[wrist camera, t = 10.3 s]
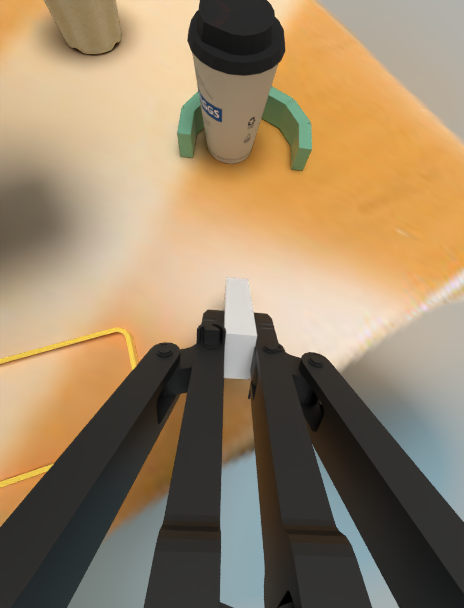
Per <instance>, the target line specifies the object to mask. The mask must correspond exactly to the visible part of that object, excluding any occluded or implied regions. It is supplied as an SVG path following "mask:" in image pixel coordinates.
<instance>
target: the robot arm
mask: <svg viewBox="0 0 464 608" xmlns="http://www.w3.org/2000/svg"><path fill="white" fill-rule="evenodd" d="M250 374H251V384H250V390H249V395H248V399H250V397H251V407H252V419H253V430H254V442H255V454H256V465H257V478H258V490H259V502H260V514H261V526H262V537H263V549H264V562H265V578H264V604H265V608H372V606H371V603H370V600H369V597H368V593H367V591H366V587H365V584H364V581H363V578H362V574H361V571H360V568H359V565H358V562H357V559H356V556H355V553H354V551H353V548H352V546H351V544H350V542H349V540H348V539H347V537H346V536H345V535H343V534H342V533H341V532H340V531H339V530H338V529H337V527H336V525H335V521H334V518H333V515H332V512H331V508H330V505H329V501H328V498H327V494H326V491H325V487H324V484H323V480H322V477H321V474H320V470H319V467H318V464H317V460H316V456H315V453H314V449H313V446H314V448H315V450H316V452H317V454H318V456H319V457H320V459H321V461H322V463H323V465H324V467H325V469H326V470H327V472H328V474H329V476H330V478H331V480H332V482H333V484H334V486H335V488H336V489H337V491H338V493H339V495H340V497H341V499H342V501H343V503H344V504H345V506H346V508H347V510H348V512H349V514H350V516H351V518H352V519H353V521H354V523H355V525H356V527H357V529H358V531H359V533H360V535H361V536H362V538H363V540H364V542H365V544H366V546H367V547H368V550H369V551H370V553H371V555H372V557H373V559H374V561H375V563H376V565H377V566H378V568H379V570H380V572H381V574H382V576H383V577H384V579H385V581H386V583H387V585H388V587H389V589H390V591H391V593H392V595H393V596H394V598H395V600H396V602H397V604H398V606H399V608H464V522H463V521H462V520H461V519H460V517H459V516H458V515H457V514H456V513H455V511H454V510H453V509H452V508H451V507H450V505H449V504H448V503H447V502H446V501H445V499H444V498H443V497H442V496H441V495H440V493H439V492H438V491H437V490H436V489H435V487H434V486H433V485H432V484H431V483H430V482H429V480H428V479H427V478H426V477H425V476H424V474H423V473H422V472H421V471H420V469H419V468H418V467H417V466H416V465H415V463H414V462H413V461H412V460H411V459H410V457H409V456H408V455H407V454H406V453H405V451H404V450H403V449H402V448H401V447H400V445H399V444H398V443H397V442H396V440H395V439H394V438H393V437H392V436H391V434H390V433H389V432H388V431H387V430H386V429H385V427H384V426H383V425H382V424H381V423H380V421H379V420H378V419H377V418H376V416H375V415H374V414H373V413H372V412H371V411H370V409H369V408H368V407H367V406H366V405H365V403H364V402H363V401H362V400H361V398H360V397H359V396H358V395H357V394H356V393H355V391H354V390H353V389H352V388H351V387H350V385H349V384H348V383H347V382H346V381H345V379H344V378H343V377H342V376H341V374H340V373H339V372H338V371H337V370H336V368H335V367H334V366H333V365H332V364H331V362H330V361H329V360H328V359H327V358H326V357H324V356H322V355H320V354H318V353H314V352H308V353H305V354H303V355H302V358H299V357H295V356H292V355H289V354H287V353H286V352H285V350H284V348H283V346H282V345H280V344H279V343H278V340H277V336H276V333H275V329H274V325H273V321H272V318H271V317H270V316H269V315H268V314H263V313H253V306H252V300H251V293H250V287H249V281H248V279H242V278H230V277H226V287H225V298H224V309H223V311H218V310H207V311H206V312H205V313H204V314H203V319H202V324H201V325H200V326H199V327H198V328H197V343H196V344H195V345H194V346H192V347H190V348H186V349H179V347H178V346H177V345H175V344H173V343H166V342H165V343H159V344H157V345H155V346H153V347H152V348H151V349H150V350H149V352H148V353H147V354H146V355H145V356H144V357H143V359H142V360H141V361H140V362H139V363H138V365H137V366H136V367H135V368H134V369H133V370H132V372H131V373H130V374H129V375H128V376H127V378H126V379H125V380H124V381H123V382H122V384H121V385H120V386H119V387H118V388H117V389H116V391H115V392H114V393H113V394H112V395H111V397H110V398H109V399H108V400H107V401H106V403H105V404H104V405H103V406H102V407H101V408H100V410H99V411H98V412H97V413H96V414H95V416H94V417H93V418H92V419H91V420H90V422H89V423H88V424H87V425H86V426H85V427H84V429H83V430H82V431H81V432H80V433H79V435H78V436H77V437H76V438H75V439H74V441H73V442H72V443H71V444H70V445H69V446H68V448H67V449H66V450H65V451H64V452H63V454H62V455H61V456H60V457H59V458H58V459H57V461H56V462H55V463H54V464H53V465H52V467H51V468H50V469H49V470H48V471H47V473H46V474H45V475H44V476H43V477H42V478H41V480H40V481H39V482H38V483H37V484H36V486H35V487H34V488H33V489H32V490H31V492H30V493H29V494H28V495H27V496H26V497H25V499H24V500H23V501H22V502H21V503H20V505H19V506H18V507H17V508H16V509H15V511H14V512H13V513H12V514H11V515H10V516H9V518H8V519H7V520H6V521H5V522H4V524H3V525H2V526H1V527H0V608H67V606H68V605H69V603H70V601H71V599H72V597H73V595H74V593H75V591H76V590H77V588H78V586H79V584H80V582H81V580H82V578H83V576H84V575H85V572H86V571H87V569H88V567H89V565H90V563H91V561H92V559H93V558H94V556H95V554H96V552H97V550H98V548H99V546H100V545H101V543H102V541H103V539H104V537H105V535H106V533H107V531H108V530H109V528H110V526H111V524H112V522H113V520H114V518H115V516H116V515H117V513H118V511H119V509H120V507H121V505H122V503H123V502H124V500H125V498H126V496H127V494H128V492H129V490H130V488H131V487H132V485H133V483H134V481H135V479H136V477H137V475H138V473H139V472H140V470H141V468H142V466H143V464H144V462H145V460H146V458H147V457H148V455H149V453H150V451H151V449H152V447H153V445H154V443H155V442H156V440H157V438H158V436H159V434H160V432H161V430H162V428H163V427H164V425H165V423H166V421H167V419H168V417H169V415H170V413H171V412H172V410H173V408H174V406H175V404H176V402H177V400H178V398H179V396H180V394H182V393H187V392H188V393H187V398H186V403H185V409H184V414H183V419H182V425H181V430H180V436H179V441H178V446H177V452H176V457H175V462H174V468H173V473H172V479H171V484H170V489H169V495H168V500H167V506H166V511H165V516H164V521H163V525H162V527H161V529H160V531H159V535H158V538H157V543H156V548H155V552H154V558H153V563H152V568H151V573H150V578H149V584H148V589H147V593H146V599H145V604H144V608H233V607H230V606H228V605H226V604H223V603H221V602H220V563H221V559H220V558H221V531H220V500H221V465H222V428H223V391H224V378H233V379H248V380H249V379H250ZM312 444H313V446H312Z"/></svg>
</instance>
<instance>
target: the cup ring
mask: <svg viewBox="0 0 464 608" xmlns="http://www.w3.org/2000/svg"><path fill="white" fill-rule="evenodd" d="M262 119H263V120H265V121H267V122H269V123H270V124H272V125H274V126H276V127H277V128H279V129H280V131H281V132H282V134H283V135H284V137H285V138H286V140H287V141H288V143H289V144H290V146H291V169H294V170H303V169H304V166H305V164H306V162H307V159H308V157H309V155H310V153H311V150H312V133H311V124H310V123H311V122H310V121H309V119H308V118H307V116H306V115H305V114H304V112H303V111H302V109H301V108H300V106H299V105H298V104H297V102H296V101H295V100H293V98H291V97H290V96H288V95H286V94H284V93H283V92H281V91H279V90H277V89H275V88H274V87H272V86H271V89H270V92H269V95H268V98H267V101H266V105H265V108H264V111H263V114H262ZM203 128H204V123H203V116H202V110H201V104H200V97H199V91H198V92H197V93H196V94H195V95H194V96H193V97H192V98H191V99H189V100H188V101H187V102H186V103H185V104H184V105H183V108H181V114H180V120H179V126H178V132H177V135H178V142H179V148H180V155H181V156H183V157H191V158H193V152H194V145H195V138H196V135H197V134H198V133H199V132H200V131H201V130H202V129H203Z"/></svg>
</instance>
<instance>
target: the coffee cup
mask: <svg viewBox="0 0 464 608" xmlns="http://www.w3.org/2000/svg"><path fill="white" fill-rule="evenodd" d="M187 41H188V43H189V46H190V49H191V51H192V53H193V59H194V66H195V72H196V78H197V85H198V91H199V97H200V104H201V110H202V116H203V123H204V129H205V135H206V141H207V147H208V150H209V153H210V154H211V155H212V156H213V157H214V158H215V159H217V160H218V161H220V162H223V163H229V164H234V163H239V162H241V161H243V160H245V159H246V158H247V157H248V156H249V155H250V152H251V150H252V146H253V143H254V140H255V137H256V134H257V130H258V127H259V124H260V121H261V118H262V114H263V111H264V108H265V105H266V101H267V98H268V95H269V92H270V89H271V85H272V82H273V79H274V76H275V73H276V69H277V66H278V63H279V62H280V61H281V60H282V57H283V55H284V53H285V39H284V30H283V28H282V26H281V24H280V22H279V20H278V19H277V18H276V17H275V13H274V10H273V8H272V6H271V4H270V3H269V2H268V1H267V0H200V3H199V10H198V11H197V12H196V13H195V15H194V16H193V18H192V19H191V23H190V27H189V31H188V40H187Z"/></svg>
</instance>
